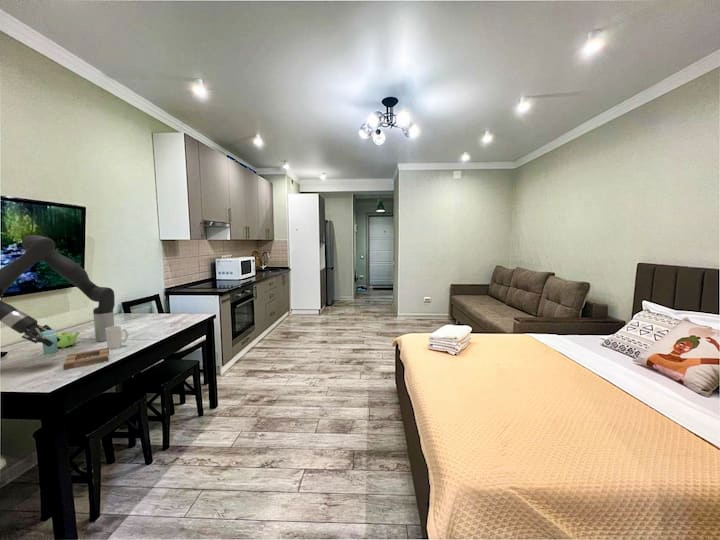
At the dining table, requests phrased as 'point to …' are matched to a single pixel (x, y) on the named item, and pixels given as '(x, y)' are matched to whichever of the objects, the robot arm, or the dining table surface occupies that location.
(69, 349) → the dining table surface
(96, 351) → the wooden trivet
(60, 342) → the teapot
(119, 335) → the mug
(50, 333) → the teal cylinder
